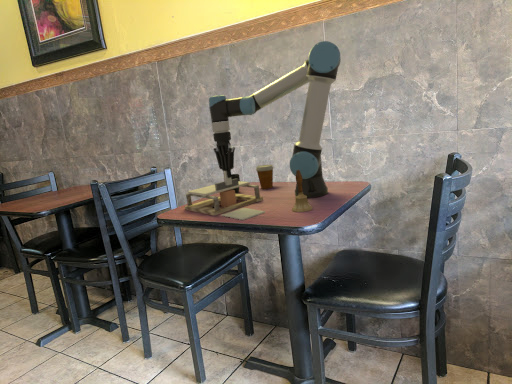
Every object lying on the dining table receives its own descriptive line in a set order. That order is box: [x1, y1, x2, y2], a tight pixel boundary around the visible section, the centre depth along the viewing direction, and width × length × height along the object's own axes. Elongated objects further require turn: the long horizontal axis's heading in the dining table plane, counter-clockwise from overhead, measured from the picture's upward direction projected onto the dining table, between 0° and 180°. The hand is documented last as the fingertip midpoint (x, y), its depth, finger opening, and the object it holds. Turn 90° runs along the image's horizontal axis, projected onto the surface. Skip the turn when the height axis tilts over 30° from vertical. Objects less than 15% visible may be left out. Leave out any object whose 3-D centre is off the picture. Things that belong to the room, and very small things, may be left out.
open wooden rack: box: [184, 184, 264, 216], centre depth 173 cm, size 24×28×7 cm
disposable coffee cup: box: [255, 164, 274, 190], centre depth 200 cm, size 10×10×12 cm
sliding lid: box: [187, 179, 251, 196], centre depth 173 cm, size 15×25×4 cm, turn 131°
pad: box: [220, 207, 266, 221], centre depth 152 cm, size 14×12×1 cm
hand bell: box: [291, 170, 314, 213], centre depth 147 cm, size 8×8×16 cm
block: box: [219, 190, 237, 208], centre depth 170 cm, size 5×5×7 cm
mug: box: [223, 173, 241, 194], centre depth 200 cm, size 8×12×10 cm
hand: (228, 184), depth 167 cm, fingers closed
